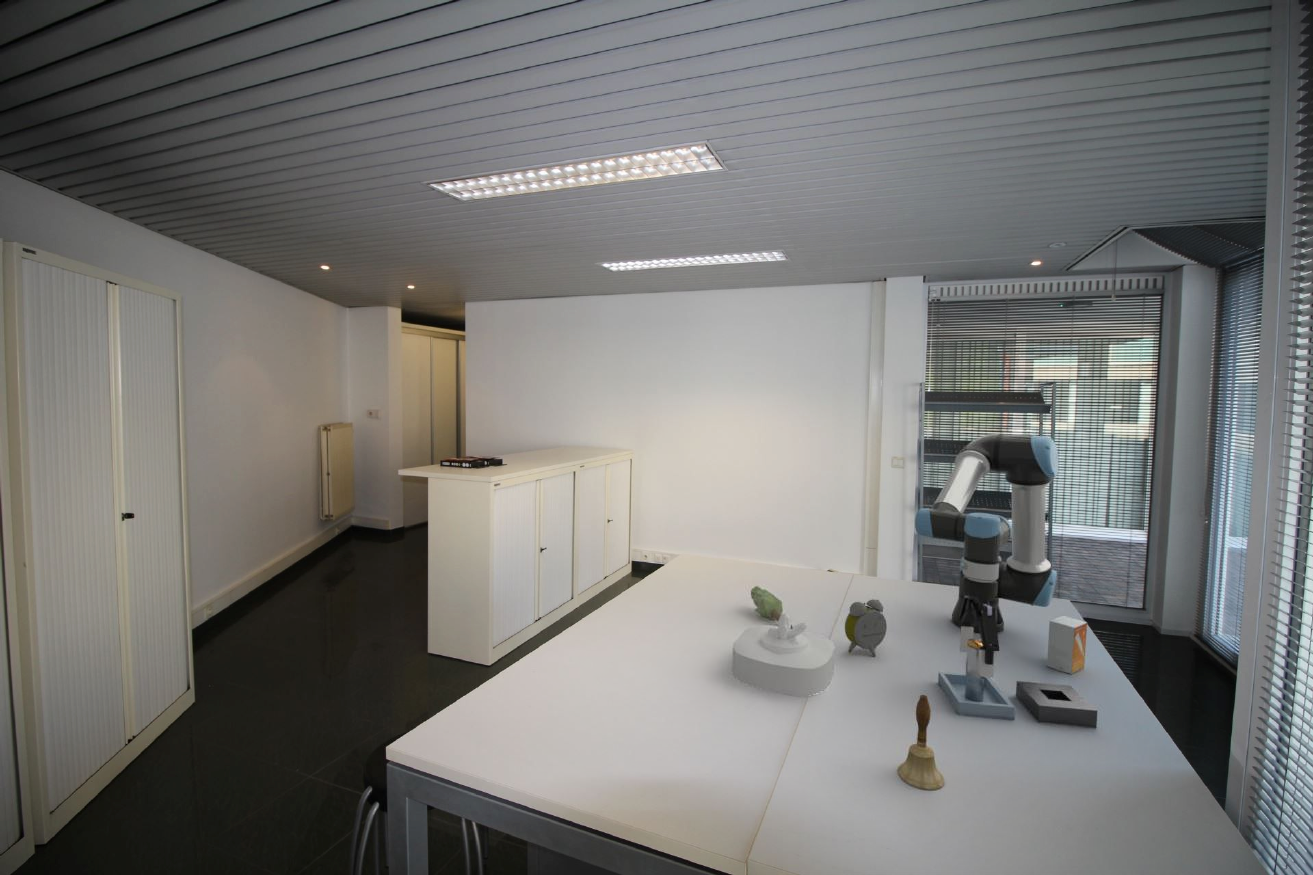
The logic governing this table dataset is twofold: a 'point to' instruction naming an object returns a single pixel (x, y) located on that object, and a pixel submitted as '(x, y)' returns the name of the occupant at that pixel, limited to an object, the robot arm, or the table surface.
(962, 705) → the tray
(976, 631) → the robot arm
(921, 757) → the hand bell
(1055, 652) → the small box
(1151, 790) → the table surface
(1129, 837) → the table surface
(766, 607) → the decorative object
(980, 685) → the steel pin
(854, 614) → the alarm clock
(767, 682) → the tissue box
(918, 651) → the table surface
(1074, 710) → the block
